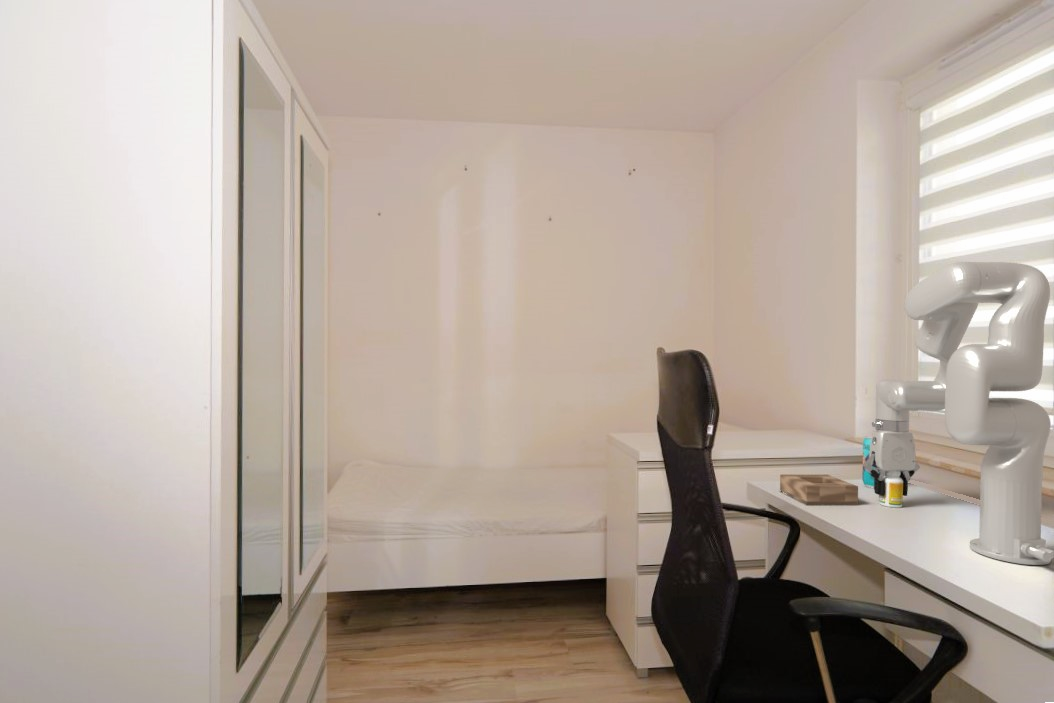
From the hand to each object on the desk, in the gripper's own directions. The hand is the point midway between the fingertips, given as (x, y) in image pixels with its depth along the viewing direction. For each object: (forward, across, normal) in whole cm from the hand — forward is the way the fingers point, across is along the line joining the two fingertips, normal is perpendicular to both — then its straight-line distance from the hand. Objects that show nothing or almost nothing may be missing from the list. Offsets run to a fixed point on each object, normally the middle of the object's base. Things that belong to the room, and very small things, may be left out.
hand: (890, 493), depth 152 cm
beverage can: (+3, +9, +20) cm, 22 cm away
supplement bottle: (+3, 0, 0) cm, 3 cm away
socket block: (+3, -16, +7) cm, 18 cm away
